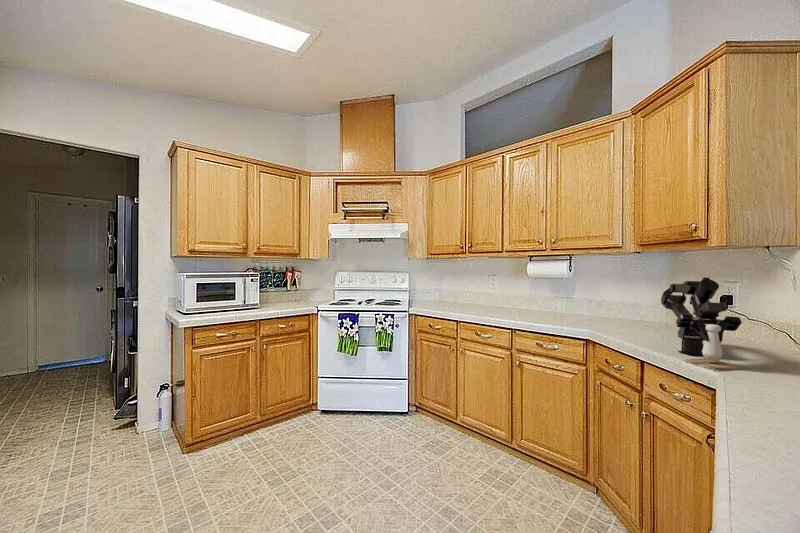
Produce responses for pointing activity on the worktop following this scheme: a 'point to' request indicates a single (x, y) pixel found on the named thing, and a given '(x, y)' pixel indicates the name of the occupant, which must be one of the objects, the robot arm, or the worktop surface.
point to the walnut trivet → (713, 364)
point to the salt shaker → (712, 343)
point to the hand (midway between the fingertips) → (714, 341)
